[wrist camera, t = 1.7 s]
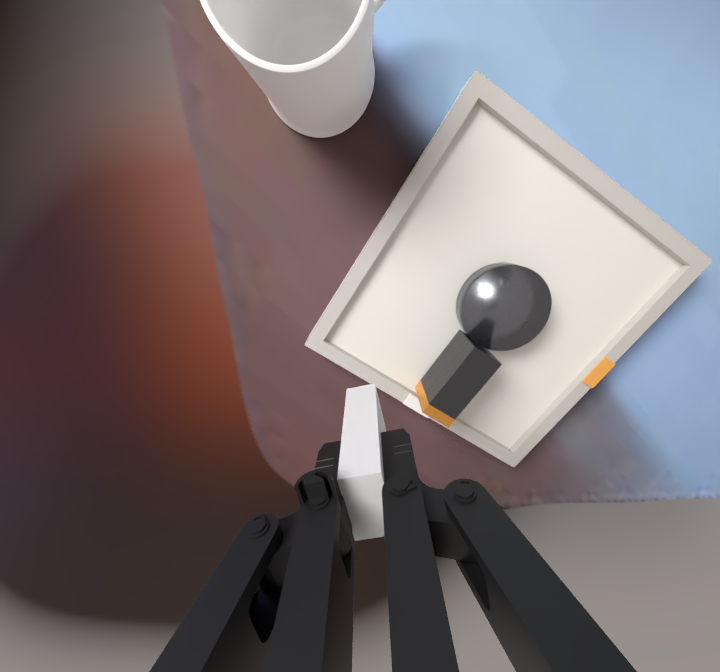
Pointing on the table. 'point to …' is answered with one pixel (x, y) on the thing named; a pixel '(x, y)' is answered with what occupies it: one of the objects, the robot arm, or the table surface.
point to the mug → (304, 56)
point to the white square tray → (511, 245)
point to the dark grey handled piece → (484, 335)
